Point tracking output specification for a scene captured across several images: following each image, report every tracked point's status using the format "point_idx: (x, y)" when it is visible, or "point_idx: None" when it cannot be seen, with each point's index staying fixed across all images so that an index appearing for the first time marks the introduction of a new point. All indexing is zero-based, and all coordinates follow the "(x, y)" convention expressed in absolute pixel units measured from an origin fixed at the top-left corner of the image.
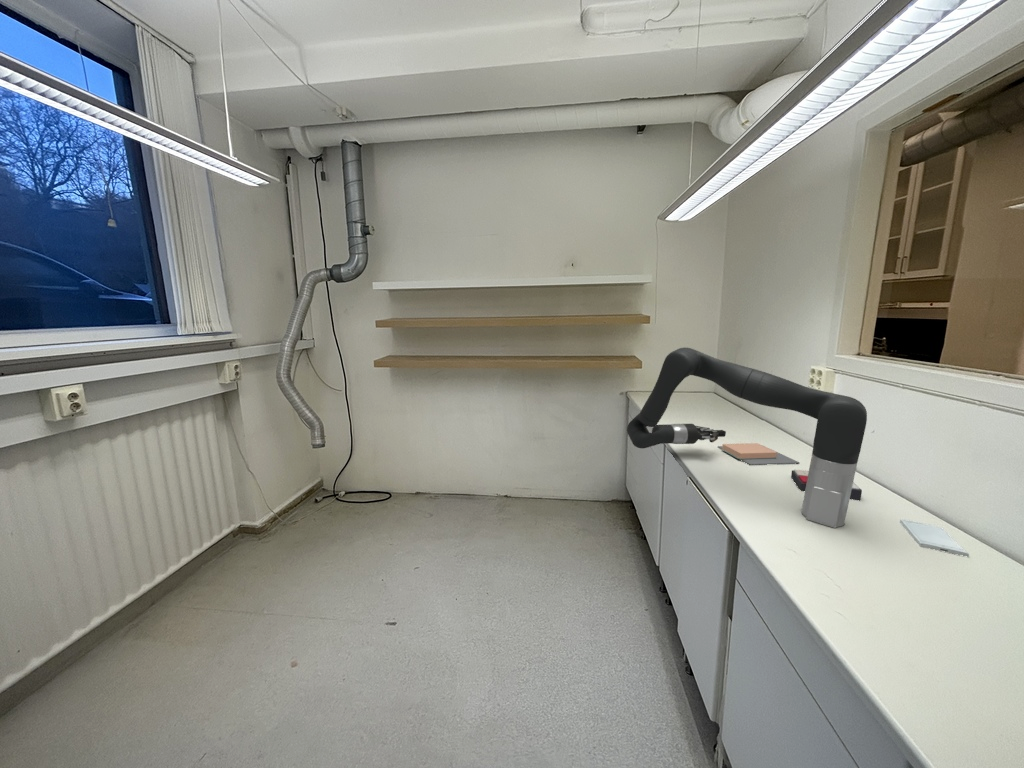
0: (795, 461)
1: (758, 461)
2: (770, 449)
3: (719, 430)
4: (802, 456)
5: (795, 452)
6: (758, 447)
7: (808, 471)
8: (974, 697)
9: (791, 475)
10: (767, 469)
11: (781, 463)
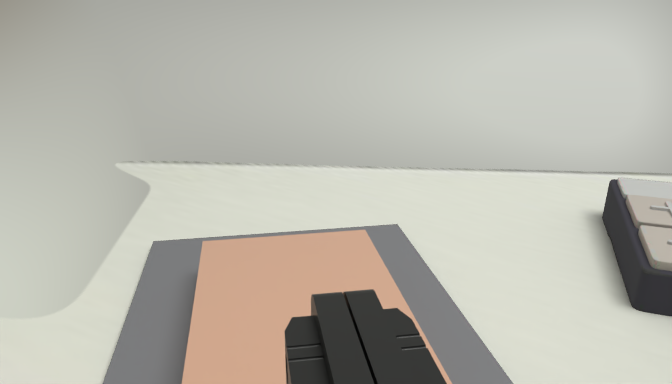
0: (388, 229)
1: (444, 345)
2: (318, 234)
3: (353, 336)
4: (301, 201)
5: (254, 200)
6: (284, 260)
7: (654, 231)
8: None
9: (650, 299)
10: (562, 356)
11: (429, 271)
